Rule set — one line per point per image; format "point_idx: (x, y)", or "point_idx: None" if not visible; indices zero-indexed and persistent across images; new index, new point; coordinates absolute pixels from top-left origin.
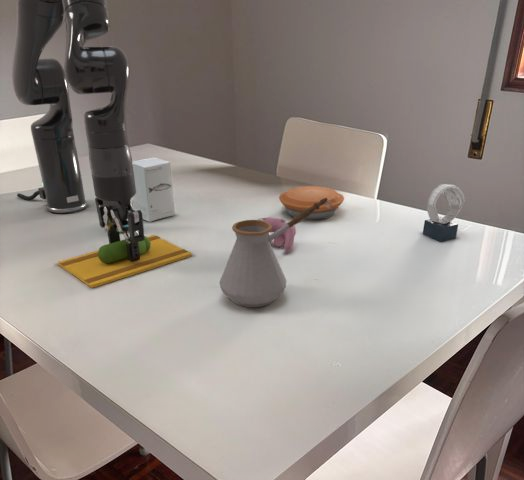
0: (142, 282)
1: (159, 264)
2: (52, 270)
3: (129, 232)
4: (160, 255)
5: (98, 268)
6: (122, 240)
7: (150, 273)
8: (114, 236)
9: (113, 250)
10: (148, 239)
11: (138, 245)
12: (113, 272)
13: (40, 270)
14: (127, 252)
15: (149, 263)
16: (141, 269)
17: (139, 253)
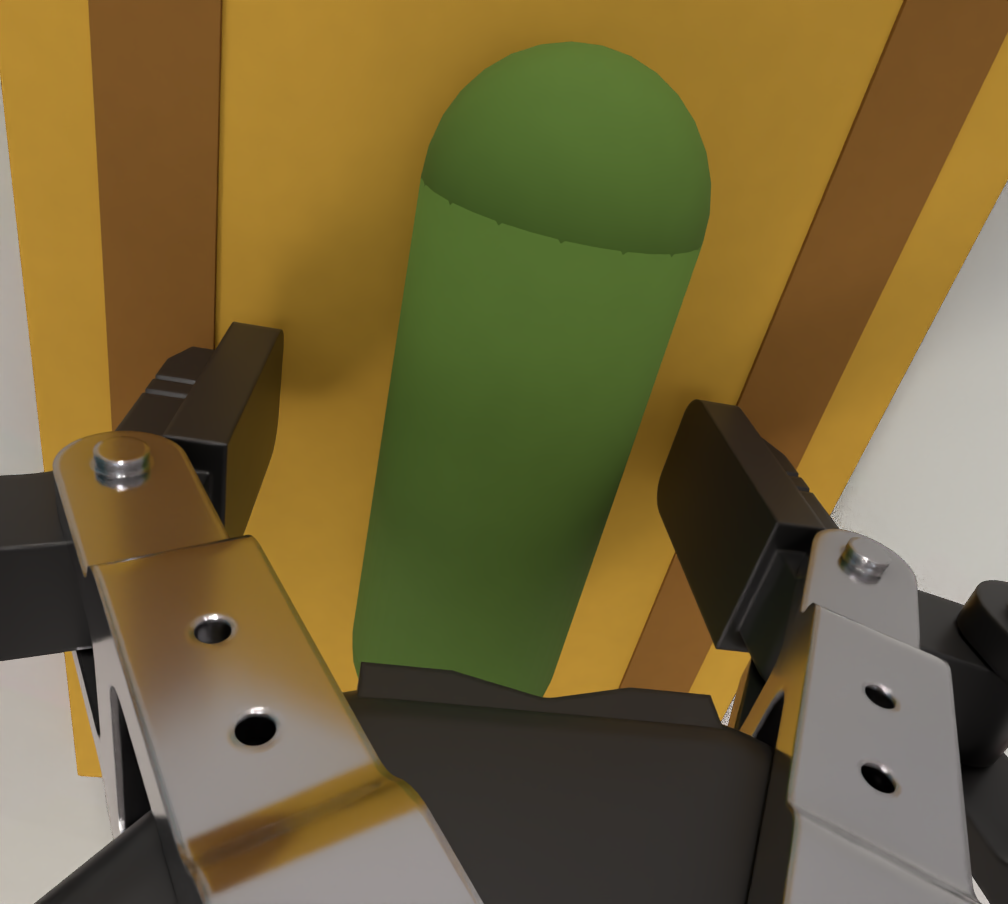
0: (948, 580)
1: (945, 289)
2: None
3: (977, 864)
4: (828, 90)
5: None
6: (496, 537)
7: (921, 441)
8: (237, 495)
9: (554, 664)
10: (682, 133)
11: (803, 496)
12: (663, 658)
13: (107, 844)
14: (686, 567)
15: (849, 364)
16: (841, 486)
17: (757, 434)
